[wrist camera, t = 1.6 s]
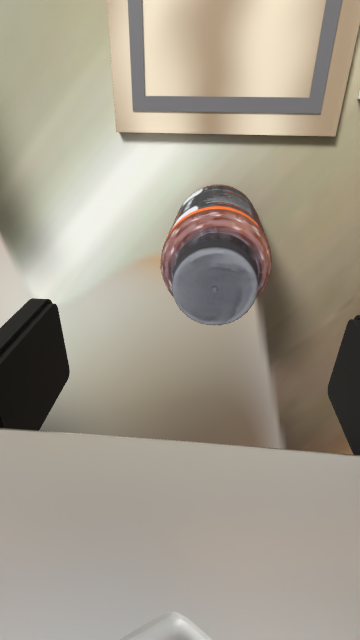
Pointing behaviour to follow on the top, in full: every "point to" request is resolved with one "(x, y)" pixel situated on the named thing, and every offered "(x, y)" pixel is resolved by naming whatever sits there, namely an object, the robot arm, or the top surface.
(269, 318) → the top surface
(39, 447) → the robot arm
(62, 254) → the top surface
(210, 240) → the supplement bottle
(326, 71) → the marked board
